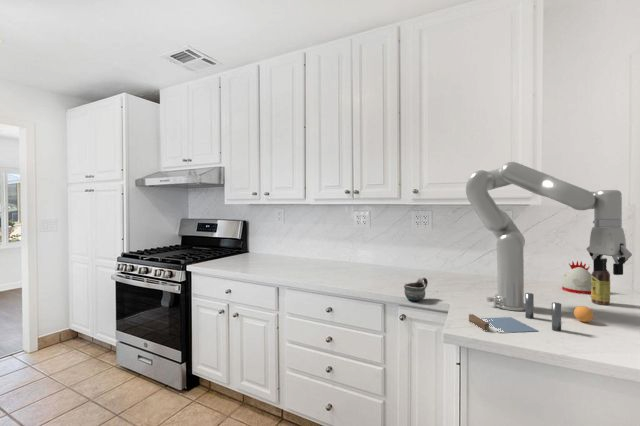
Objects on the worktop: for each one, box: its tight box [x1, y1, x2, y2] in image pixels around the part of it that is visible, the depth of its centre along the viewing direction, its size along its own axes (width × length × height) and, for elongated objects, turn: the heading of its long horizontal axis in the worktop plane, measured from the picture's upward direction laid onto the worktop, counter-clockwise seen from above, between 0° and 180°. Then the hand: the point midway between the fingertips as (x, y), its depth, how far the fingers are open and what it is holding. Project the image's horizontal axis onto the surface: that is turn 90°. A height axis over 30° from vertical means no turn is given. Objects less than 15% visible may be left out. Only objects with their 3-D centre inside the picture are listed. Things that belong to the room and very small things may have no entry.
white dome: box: [561, 260, 592, 295], centre depth 162 cm, size 14×14×15 cm
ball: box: [573, 305, 595, 323], centre depth 118 cm, size 6×6×6 cm
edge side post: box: [551, 302, 562, 332], centre depth 110 cm, size 3×3×9 cm
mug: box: [403, 276, 429, 302], centre depth 149 cm, size 10×12×10 cm
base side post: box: [524, 292, 535, 320], centre depth 123 cm, size 3×3×9 cm
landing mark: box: [480, 316, 539, 333], centre depth 115 cm, size 14×14×1 cm
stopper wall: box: [468, 313, 490, 331], centre depth 115 cm, size 2×10×2 cm, turn 5°
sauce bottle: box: [590, 256, 611, 306], centre depth 140 cm, size 7×6×20 cm
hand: (607, 272), depth 118 cm, fingers open, 6 cm apart
